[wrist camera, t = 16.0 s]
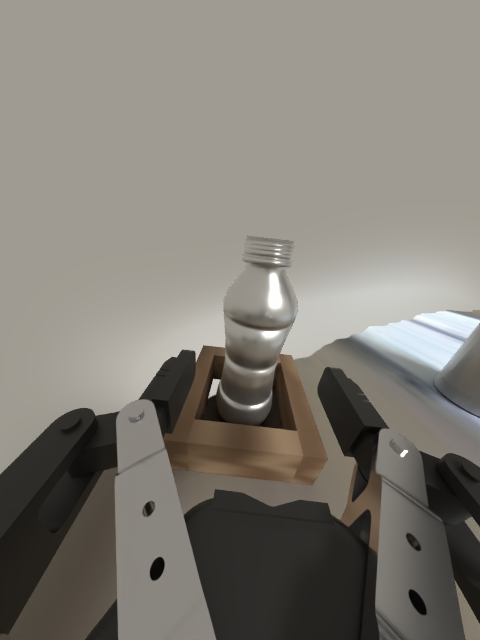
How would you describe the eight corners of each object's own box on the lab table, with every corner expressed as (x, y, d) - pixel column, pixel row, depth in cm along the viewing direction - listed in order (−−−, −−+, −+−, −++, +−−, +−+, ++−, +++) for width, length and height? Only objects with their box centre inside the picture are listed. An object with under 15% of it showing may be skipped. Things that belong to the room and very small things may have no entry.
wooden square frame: (285, 377, 28) (291, 355, 26) (312, 485, 16) (327, 458, 14) (203, 368, 28) (203, 345, 26) (167, 468, 16) (162, 439, 14)
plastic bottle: (226, 385, 25) (239, 235, 17) (271, 399, 24) (312, 243, 15) (206, 425, 20) (210, 231, 11) (263, 447, 18) (322, 243, 9)
